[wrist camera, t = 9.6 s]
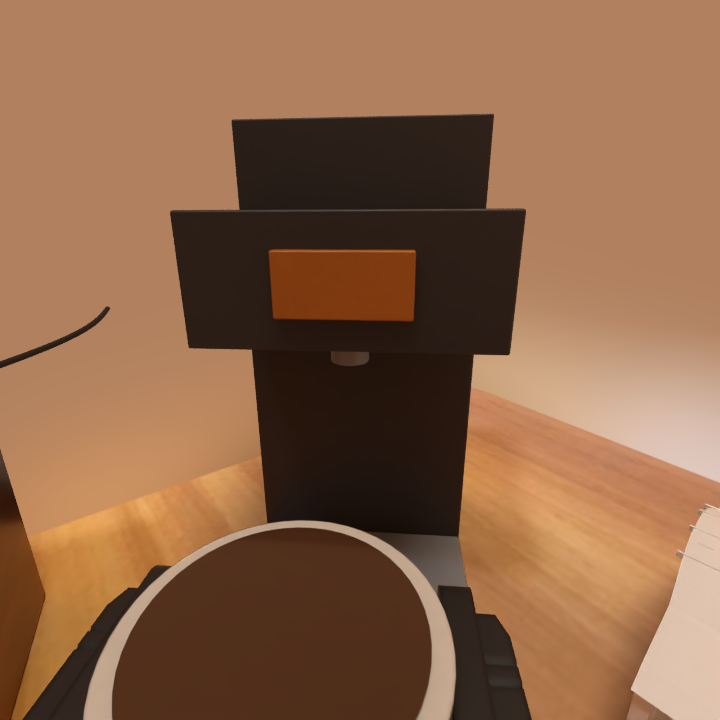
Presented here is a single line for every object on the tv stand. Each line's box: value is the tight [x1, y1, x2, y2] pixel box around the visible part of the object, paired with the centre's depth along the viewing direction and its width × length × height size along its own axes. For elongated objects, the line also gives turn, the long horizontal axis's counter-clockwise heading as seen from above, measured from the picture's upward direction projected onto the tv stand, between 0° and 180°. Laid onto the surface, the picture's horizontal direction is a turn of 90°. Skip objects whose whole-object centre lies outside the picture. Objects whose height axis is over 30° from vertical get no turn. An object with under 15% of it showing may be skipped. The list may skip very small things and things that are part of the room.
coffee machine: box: [170, 114, 526, 594], centre depth 22 cm, size 16×12×24 cm
